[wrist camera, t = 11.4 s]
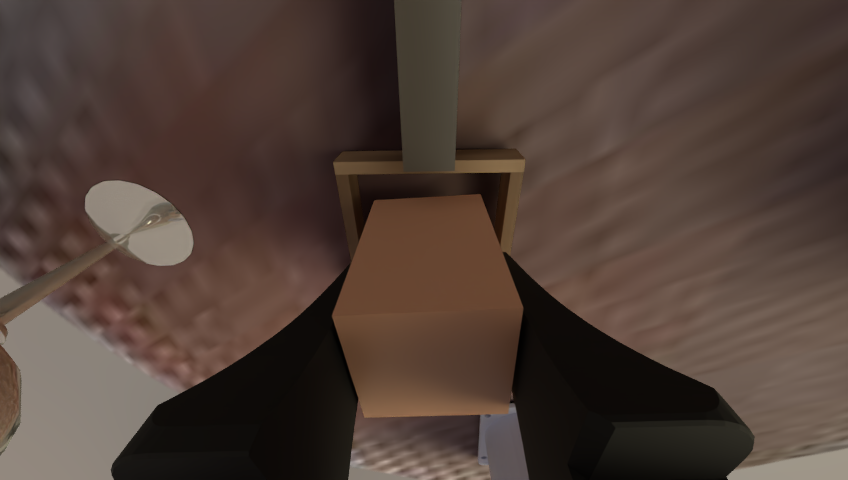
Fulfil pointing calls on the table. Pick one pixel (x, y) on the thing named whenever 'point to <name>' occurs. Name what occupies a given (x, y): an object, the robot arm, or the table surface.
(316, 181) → the table surface
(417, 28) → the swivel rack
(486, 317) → the block
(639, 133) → the table surface
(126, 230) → the wineglass
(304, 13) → the table surface
